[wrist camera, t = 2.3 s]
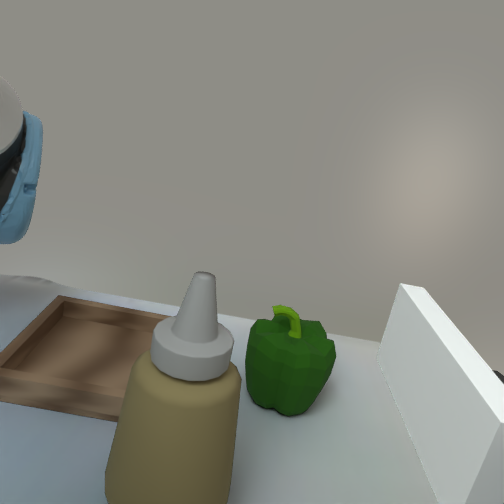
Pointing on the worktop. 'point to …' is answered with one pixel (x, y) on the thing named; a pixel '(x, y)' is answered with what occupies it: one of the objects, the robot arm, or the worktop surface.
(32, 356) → the walnut tray
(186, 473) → the squeeze bottle
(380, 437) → the worktop surface
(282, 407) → the bell pepper
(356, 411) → the worktop surface
